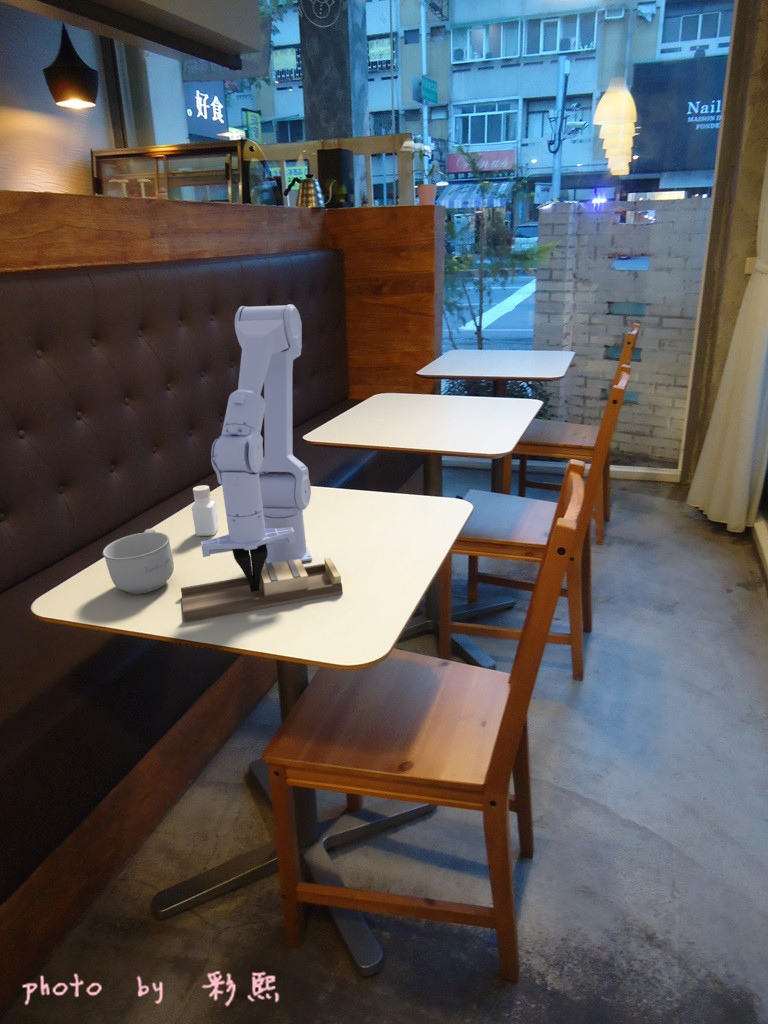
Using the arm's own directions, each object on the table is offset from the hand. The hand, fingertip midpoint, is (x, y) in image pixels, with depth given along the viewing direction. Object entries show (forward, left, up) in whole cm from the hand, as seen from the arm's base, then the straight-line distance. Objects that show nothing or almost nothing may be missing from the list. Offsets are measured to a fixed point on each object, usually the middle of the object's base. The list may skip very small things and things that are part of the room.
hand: (254, 588), depth 121 cm
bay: (0, +1, -1) cm, 2 cm away
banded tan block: (0, +5, -1) cm, 5 cm away
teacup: (-13, -17, -2) cm, 21 cm away
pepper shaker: (-32, -6, -2) cm, 32 cm away
